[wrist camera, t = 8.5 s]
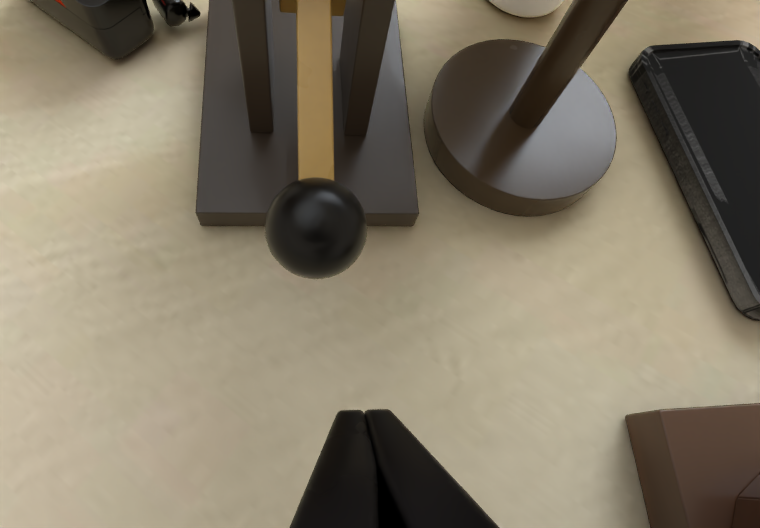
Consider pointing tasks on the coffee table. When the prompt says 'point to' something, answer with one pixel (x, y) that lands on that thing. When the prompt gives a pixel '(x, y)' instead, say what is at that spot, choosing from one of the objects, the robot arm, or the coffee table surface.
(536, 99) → the lamp
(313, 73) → the lever
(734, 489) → the switch box
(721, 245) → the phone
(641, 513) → the coffee table surface
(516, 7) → the drinking glass
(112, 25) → the wireless earbuds
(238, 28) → the lamp switch
